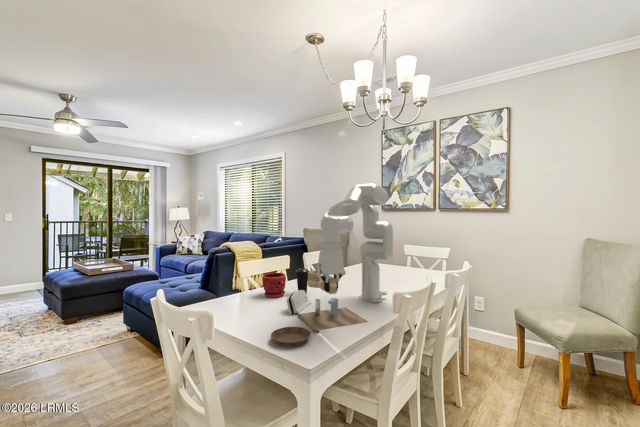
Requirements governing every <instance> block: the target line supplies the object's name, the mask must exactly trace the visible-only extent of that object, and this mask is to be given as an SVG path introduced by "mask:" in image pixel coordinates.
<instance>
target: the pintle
mask: <svg viewBox="0 0 640 427" xmlns="http://www.w3.org/2000/svg"><path fill="white" fill-rule="evenodd" d="M314 301H315V306H314V309H315V311H314V312H315V315H316V316H319V315H320V311H321V299H320V298H315V300H314Z"/></svg>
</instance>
